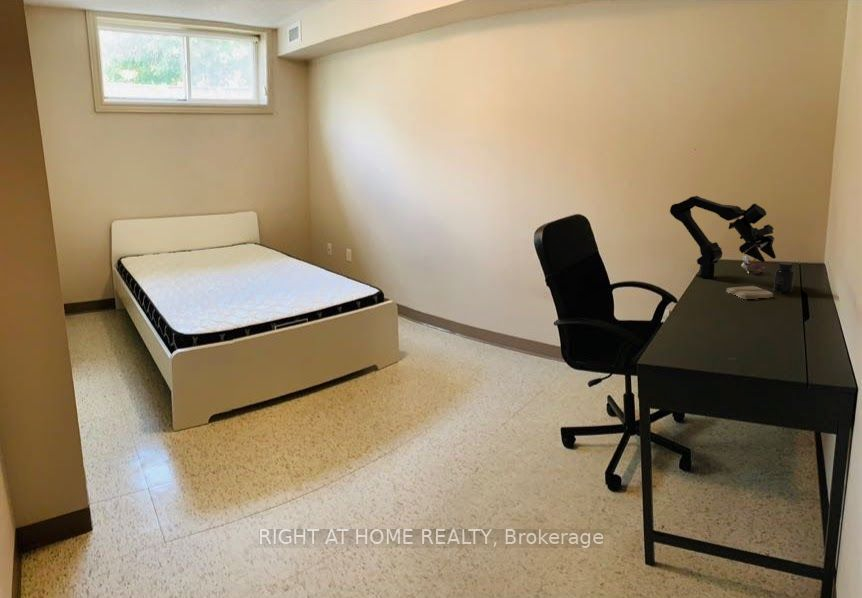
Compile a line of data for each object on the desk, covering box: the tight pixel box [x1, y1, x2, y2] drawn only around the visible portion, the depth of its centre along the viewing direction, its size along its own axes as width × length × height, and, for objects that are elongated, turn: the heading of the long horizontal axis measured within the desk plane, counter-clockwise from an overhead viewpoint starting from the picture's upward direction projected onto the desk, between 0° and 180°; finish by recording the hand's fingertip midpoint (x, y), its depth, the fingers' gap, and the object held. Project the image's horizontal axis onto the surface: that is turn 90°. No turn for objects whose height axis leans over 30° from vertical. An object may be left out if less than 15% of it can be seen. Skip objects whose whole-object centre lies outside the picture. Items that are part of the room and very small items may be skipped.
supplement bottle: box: [772, 261, 795, 294], centre depth 246 cm, size 7×7×12 cm
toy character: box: [741, 255, 766, 275], centre depth 277 cm, size 10×9×12 cm
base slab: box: [726, 285, 774, 301], centre depth 244 cm, size 12×12×2 cm
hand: (769, 259), depth 249 cm, fingers open, 9 cm apart
